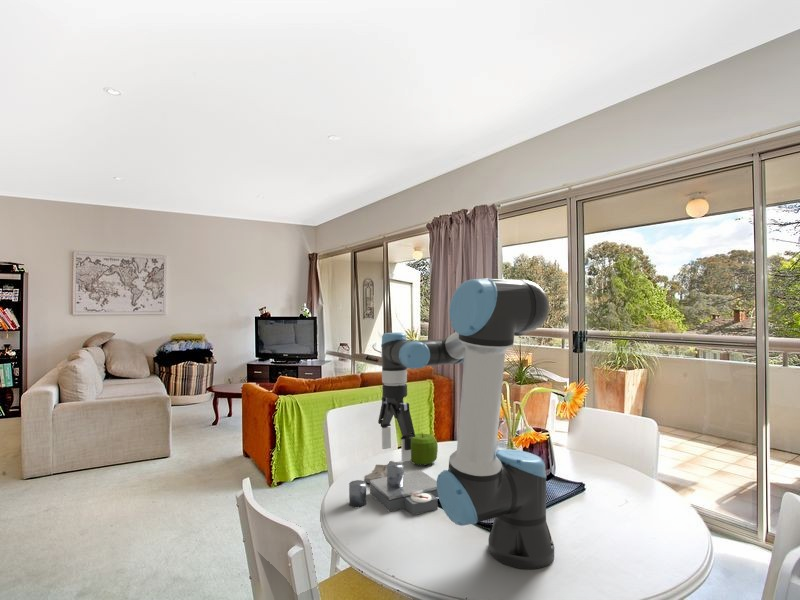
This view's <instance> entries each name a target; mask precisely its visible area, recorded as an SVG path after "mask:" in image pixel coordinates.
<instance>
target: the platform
mask: <svg viewBox="0 0 800 600" xmlns="http://www.w3.org/2000/svg"><path fill="white" fill-rule="evenodd" d="M369 484H372V485H373V486H374V487H375V488H376V489H377V490H378V491H380V492H381V493H382V494H383V495H384V496H385V497H386V498H387V499H389V500H392V499H396V498H401V497H405V496H410V495H414V494H419V493H423V492H427V491H432V490H436V489H437V479H434V478H433V477H431V476H430V475H428V474H427V473H425V472H424V471H423V470H414V471H409V472H405V473H404V485H403V486H402V487H400V488H390V487H388V486H387V477H384V478H379V479H373V480H370V483H369Z"/></svg>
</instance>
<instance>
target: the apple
mask: <svg viewBox="0 0 800 600" xmlns="http://www.w3.org/2000/svg"><path fill="white" fill-rule="evenodd" d="M438 448H439V447H438V441H437V439H436V437H435V436H434V435H432V434H429V433H423V432H422V433H416V434H415V437H412V438H411V460H409V461H410V462H412V463H413V464H414V465H416V466H427V465H430V464H432V463H433V462H435V461H436V460H437V459H438V453H439V451H438V450H439V449H438Z"/></svg>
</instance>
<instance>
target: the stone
mask: <svg viewBox="0 0 800 600" xmlns="http://www.w3.org/2000/svg"><path fill="white" fill-rule="evenodd" d="M391 462H395V461H394V460H390V461H389V462H388V463H391ZM384 477H387V464H376V465H375V466H374V469H373V470H372V471H371V473H369V474H365V475H364V477H363V478H364V479H363V481H365V482H366V484H371V483H370V480H373V479H379V478H384Z"/></svg>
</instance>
